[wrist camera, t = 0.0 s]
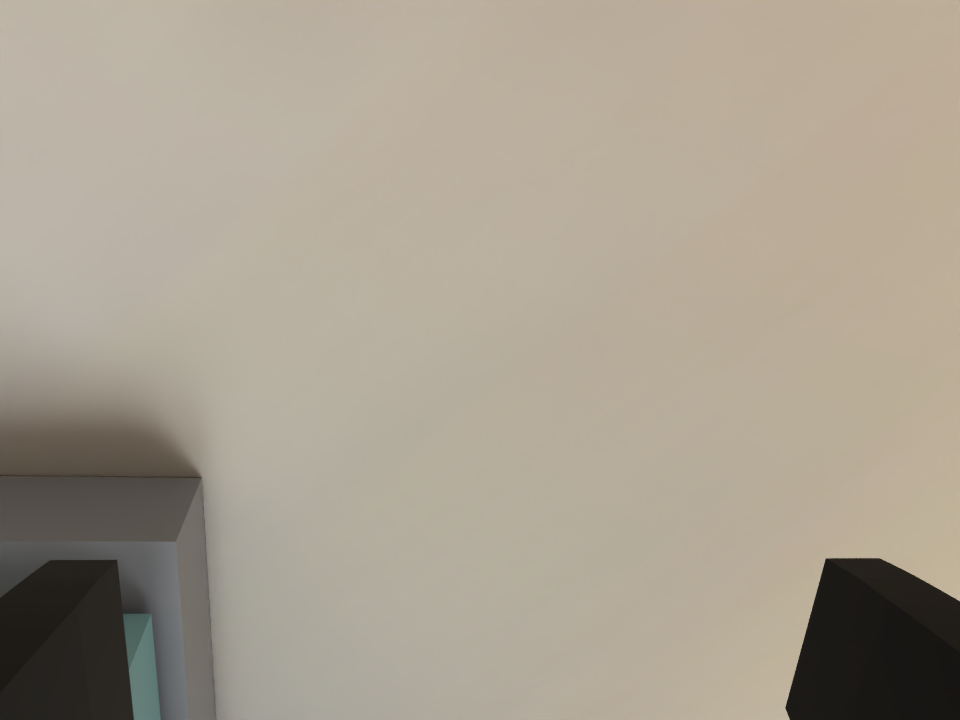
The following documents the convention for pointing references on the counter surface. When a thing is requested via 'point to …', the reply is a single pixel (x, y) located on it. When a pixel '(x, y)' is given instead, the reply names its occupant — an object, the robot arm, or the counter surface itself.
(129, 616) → the keeper plate
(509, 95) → the counter surface
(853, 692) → the robot arm
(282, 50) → the counter surface
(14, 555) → the housing
